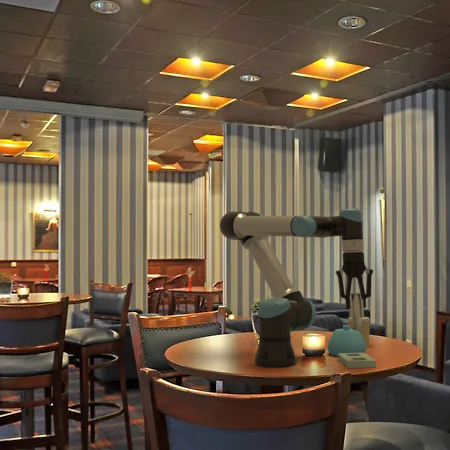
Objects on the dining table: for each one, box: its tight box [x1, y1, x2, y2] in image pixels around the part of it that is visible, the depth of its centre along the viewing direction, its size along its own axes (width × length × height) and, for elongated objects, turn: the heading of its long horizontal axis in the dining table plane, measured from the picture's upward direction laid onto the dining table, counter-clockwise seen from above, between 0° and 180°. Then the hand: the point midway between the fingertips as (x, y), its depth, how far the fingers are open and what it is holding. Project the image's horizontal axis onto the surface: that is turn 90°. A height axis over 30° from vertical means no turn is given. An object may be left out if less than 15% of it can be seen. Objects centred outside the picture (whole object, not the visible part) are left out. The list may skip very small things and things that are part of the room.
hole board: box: [337, 352, 377, 369], centre depth 217 cm, size 10×16×2 cm, turn 2°
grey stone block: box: [350, 292, 362, 331], centre depth 213 cm, size 3×3×13 cm
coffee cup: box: [347, 316, 371, 348], centre depth 255 cm, size 9×9×12 cm
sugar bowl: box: [327, 324, 367, 358], centre depth 236 cm, size 15×15×12 cm
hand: (356, 317), depth 213 cm, fingers closed on grey stone block, 3 cm apart
